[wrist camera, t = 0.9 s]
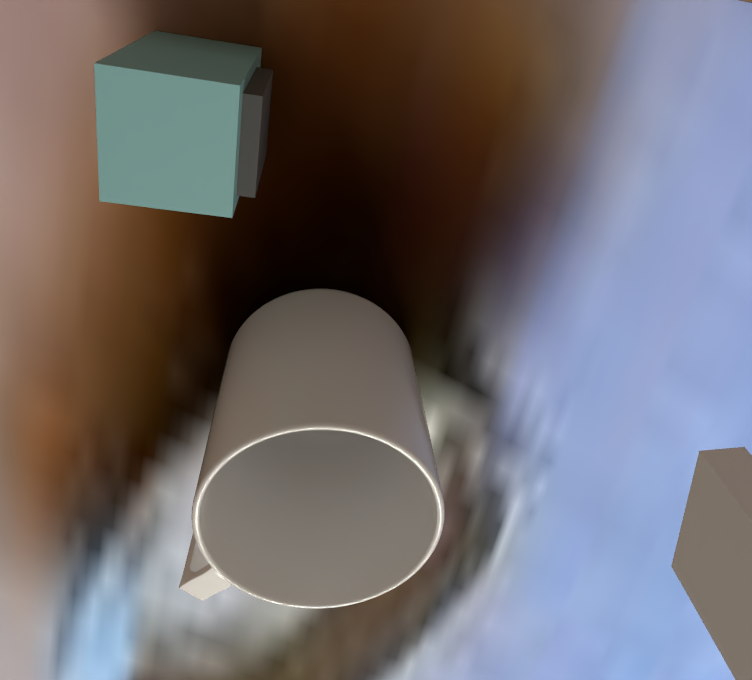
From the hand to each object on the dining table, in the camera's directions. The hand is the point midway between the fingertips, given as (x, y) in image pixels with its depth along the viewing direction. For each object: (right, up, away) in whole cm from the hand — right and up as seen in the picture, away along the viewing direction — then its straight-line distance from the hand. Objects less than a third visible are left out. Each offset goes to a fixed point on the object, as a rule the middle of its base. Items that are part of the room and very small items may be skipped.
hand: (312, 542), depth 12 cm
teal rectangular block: (-6, +13, +16) cm, 21 cm away
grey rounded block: (-3, +2, +23) cm, 23 cm away
